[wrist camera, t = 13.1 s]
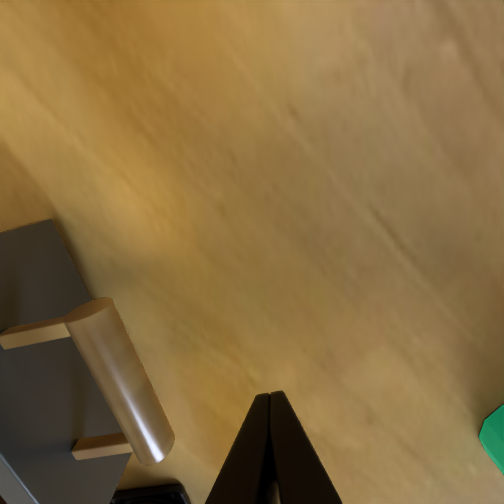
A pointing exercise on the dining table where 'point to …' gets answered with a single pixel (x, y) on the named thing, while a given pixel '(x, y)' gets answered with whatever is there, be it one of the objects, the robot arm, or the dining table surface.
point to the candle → (494, 437)
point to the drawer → (67, 381)
